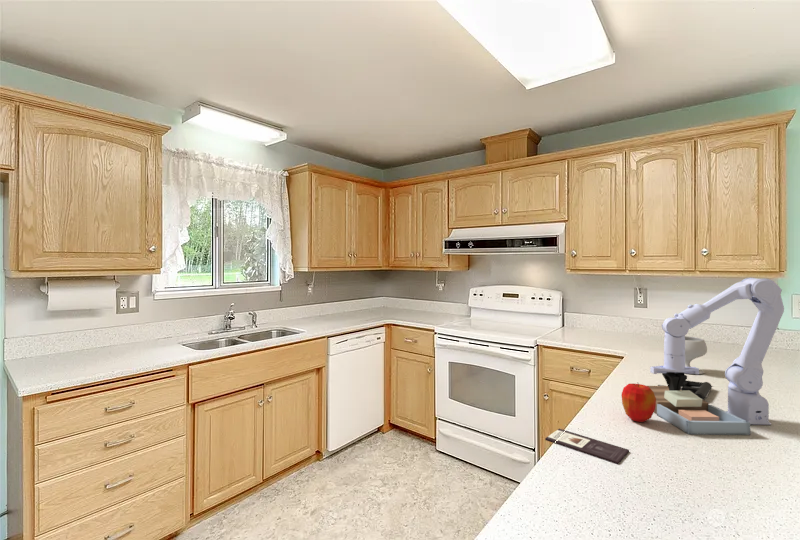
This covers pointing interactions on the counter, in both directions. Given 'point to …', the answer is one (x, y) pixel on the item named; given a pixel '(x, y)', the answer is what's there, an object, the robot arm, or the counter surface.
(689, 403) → the tile rear
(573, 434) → the chocolate bar
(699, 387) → the black toy gun
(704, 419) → the tile front
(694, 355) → the chalice
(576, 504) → the counter surface
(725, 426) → the box
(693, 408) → the walnut board
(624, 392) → the apple
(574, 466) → the counter surface
